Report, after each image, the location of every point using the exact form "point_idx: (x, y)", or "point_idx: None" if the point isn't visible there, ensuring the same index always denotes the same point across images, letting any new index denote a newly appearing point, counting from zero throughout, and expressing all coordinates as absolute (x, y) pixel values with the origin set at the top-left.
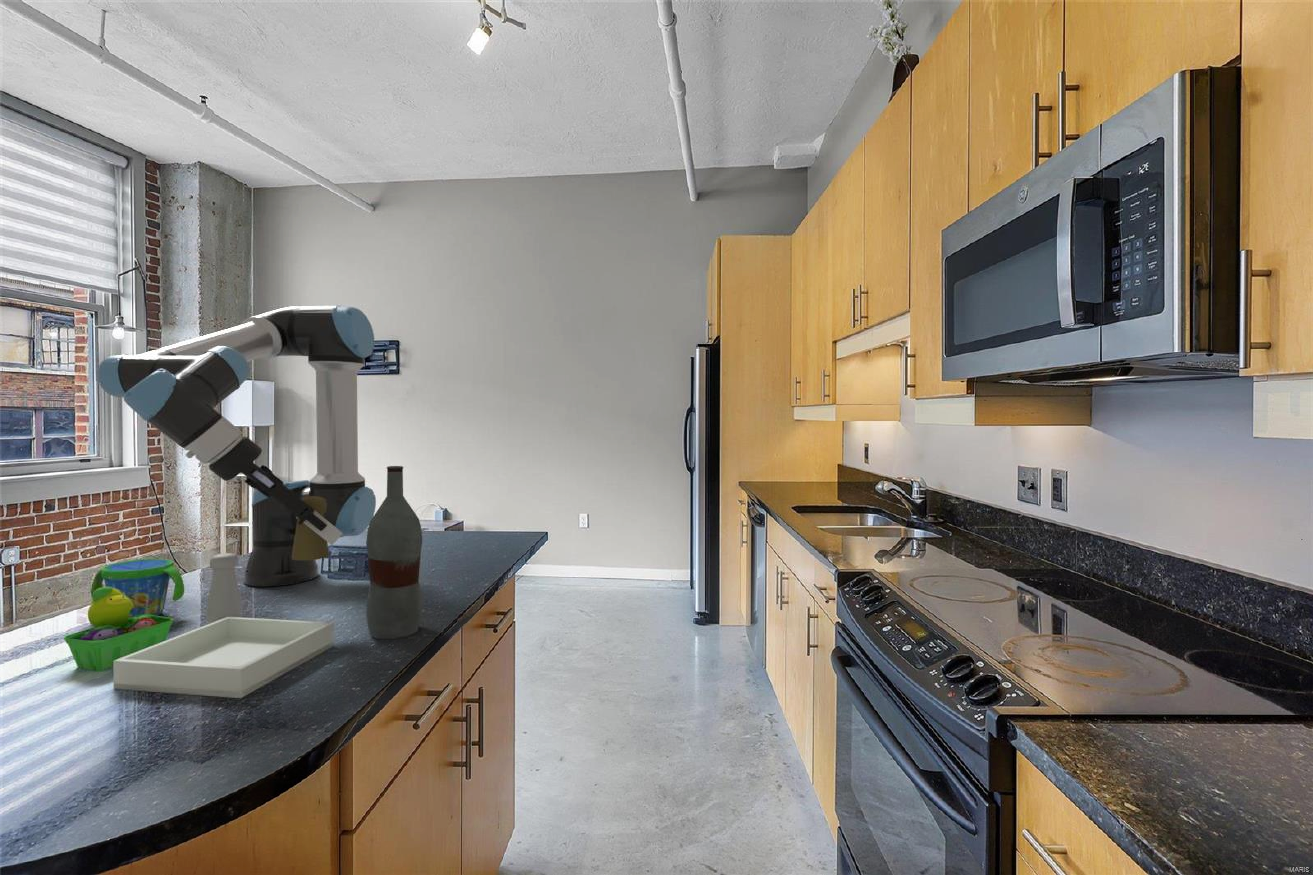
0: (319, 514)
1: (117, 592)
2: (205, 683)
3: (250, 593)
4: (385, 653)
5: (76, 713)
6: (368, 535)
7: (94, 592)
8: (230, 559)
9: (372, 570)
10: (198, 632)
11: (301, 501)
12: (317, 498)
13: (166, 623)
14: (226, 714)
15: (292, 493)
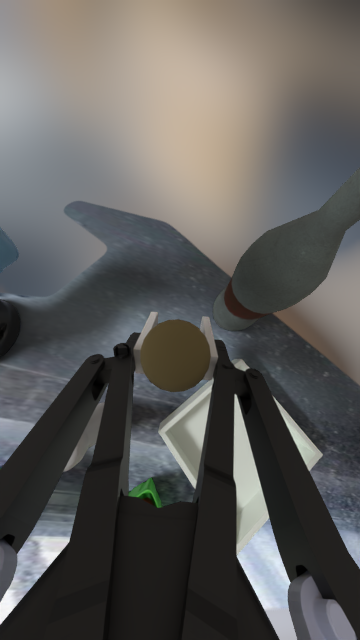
0: (215, 348)
1: None
2: None
3: (17, 371)
4: (272, 336)
5: (266, 557)
6: (282, 303)
7: None
8: (82, 444)
9: (261, 316)
10: (186, 464)
11: (275, 406)
12: (197, 342)
13: (154, 496)
14: (327, 457)
15: (294, 445)
